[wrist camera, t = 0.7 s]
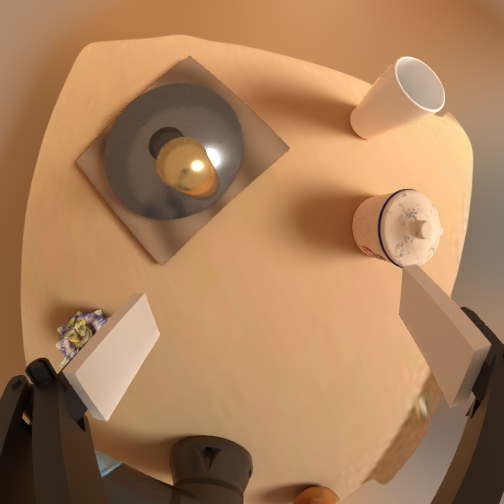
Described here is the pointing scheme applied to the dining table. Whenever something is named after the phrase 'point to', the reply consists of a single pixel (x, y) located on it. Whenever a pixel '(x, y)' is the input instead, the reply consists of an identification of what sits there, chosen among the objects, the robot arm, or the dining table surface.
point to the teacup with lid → (398, 227)
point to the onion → (317, 496)
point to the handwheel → (173, 151)
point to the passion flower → (78, 332)
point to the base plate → (182, 230)
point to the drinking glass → (398, 99)
